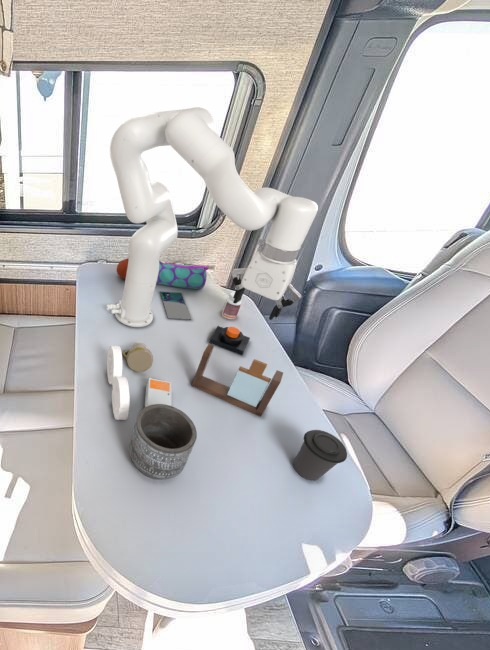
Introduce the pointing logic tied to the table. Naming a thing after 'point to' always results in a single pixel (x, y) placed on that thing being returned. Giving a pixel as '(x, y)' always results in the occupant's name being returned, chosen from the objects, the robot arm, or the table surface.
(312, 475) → the coffee cup
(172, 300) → the smartphone
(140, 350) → the mug
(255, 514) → the table surface
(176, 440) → the planter
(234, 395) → the window pane
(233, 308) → the pill bottle
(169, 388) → the cosmetic box
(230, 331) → the button
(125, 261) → the fruit
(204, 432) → the table surface
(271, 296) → the robot arm
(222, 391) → the window frame
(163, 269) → the pencil case
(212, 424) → the table surface
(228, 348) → the button housing
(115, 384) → the letter
